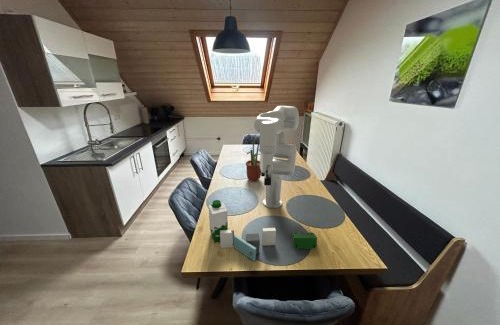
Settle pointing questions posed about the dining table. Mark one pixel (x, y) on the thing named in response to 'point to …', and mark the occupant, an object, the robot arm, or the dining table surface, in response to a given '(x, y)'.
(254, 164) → the potted plant
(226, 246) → the white rectangular block
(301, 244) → the clamp
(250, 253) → the door
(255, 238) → the gray rectangular block
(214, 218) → the milk carton
